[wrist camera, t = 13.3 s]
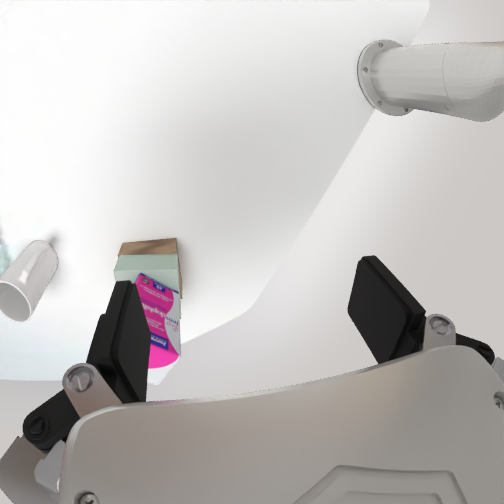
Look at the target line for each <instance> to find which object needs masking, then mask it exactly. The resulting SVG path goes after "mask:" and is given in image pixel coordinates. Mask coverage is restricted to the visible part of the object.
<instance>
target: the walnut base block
mask: <svg viewBox="0 0 504 504" xmlns="http://www.w3.org/2000/svg"><path fill="white" fill-rule="evenodd" d="M172 253H177V255H178V251H177V243H176V238H171V239H160V240H150V241H139V242H129V243H123V244H122V246H121V249H120V252H119V254H118V258H119V255H139V254H172ZM178 273H179V287H180V299H182V281H181V274H180V267H179V259H178Z"/></svg>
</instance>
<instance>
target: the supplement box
mask: <svg viewBox="0 0 504 504" xmlns="http://www.w3.org/2000/svg"><path fill="white" fill-rule="evenodd" d="M134 283H135V284H136V286H137V289H138V292H139V296H140V299H141V303H142V306H143V310H144V313H145V316H146V319H147V322H148V326H149V329H150V332H151V347H150V356H149V367H148V378H147V382H149V383H152V384H155V385H158V384H159V383H160V382H161V381H162V379H163V378H164V377H165V376H166V374H167V373H168V372H169V370H170V369H171V368H172V367H173V366H174V365H175V363H176V362H177V361H178V360H179V359H180V357H181V344H180V316H179V292H177V291H175V290H173V289H170V288H168V287H166V286H164V285H162V284H161V283H159V282H157V281H155V280H153V279H151V278H149V277H148V276H146V275H144V274H143V273H140V274H139V276H138V277H137V279H136V281H135V282H134Z"/></svg>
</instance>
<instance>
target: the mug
mask: <svg viewBox="0 0 504 504" xmlns="http://www.w3.org/2000/svg"><path fill="white" fill-rule="evenodd" d="M57 266H58V258H57V255H56V253H55V251H54V249H53V248H52V247H51V246H50V245H49V244H48V243H47V242H44V241H39V240H38V241H34V242H32V243H31V244H30V245H29V246H28V247H27V248H26V249H25V250H24V251H23V252H22V253H21V254H20V255H19V256H18V257H17V259H16V260H15V261H14V262H13V263H12V264H11V265H10V266H9V268H8V269H7V270H6V271H5V272H4V273H3V275H2V276H1V277H0V312H1V313H2V314H3V315H4V316H5V317H7V318H8V319H10V320H11V321H14V322H17V323H25V322H27V321H28V320H29V319H30V317H31V315H32V314H33V312H34V310H35V308H36V306H37V304H38V302H39V300H40V298H41V296H42V294H43V292H44V291H45V289H46V287H47V285H48V283H49V282H50V280H51V278H52V276H53V274H54V273H55V271H56V269H57Z"/></svg>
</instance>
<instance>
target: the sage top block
mask: <svg viewBox="0 0 504 504" xmlns="http://www.w3.org/2000/svg"><path fill="white" fill-rule="evenodd" d="M140 273H143V274H144V275H146V276H148V277H149V278H151V279H153V280H155V281H157V282H159V283H161V284H162V285H164V286H166V287H168V288H170V289H173V290H175V291H177V292H179V316H180V319H181V300H180V287H179V273H178V255H177V253H172V254H139V255H119V258H118V261H117V263H116V266H115V269H114V275H115V280H116V282H117V281H124V280H130V281H131V282H132V283H134V282H135V281H136V279H137V277H138V276H139V274H140Z"/></svg>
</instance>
